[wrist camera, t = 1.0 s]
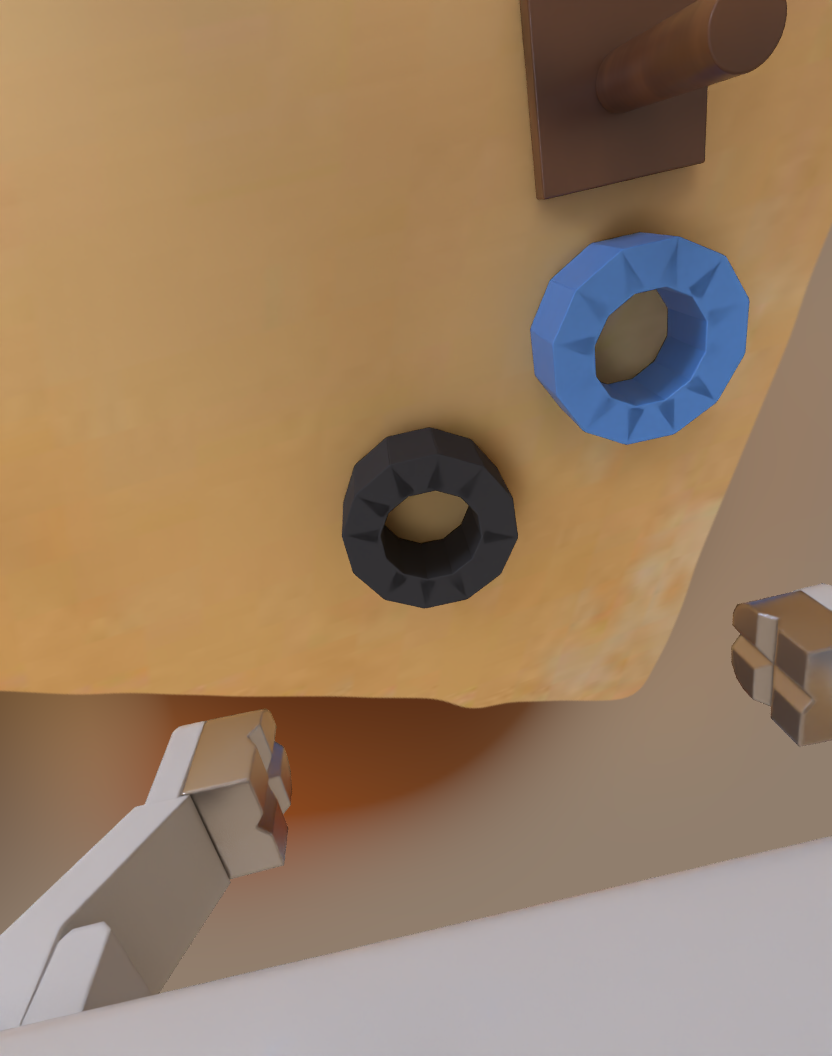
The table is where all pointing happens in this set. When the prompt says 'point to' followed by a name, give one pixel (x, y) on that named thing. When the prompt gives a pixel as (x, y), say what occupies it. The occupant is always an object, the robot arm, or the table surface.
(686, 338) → the blue tape
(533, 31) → the wooden stand
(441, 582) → the ring
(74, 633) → the table surface
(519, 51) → the table surface
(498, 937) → the robot arm
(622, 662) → the table surface
